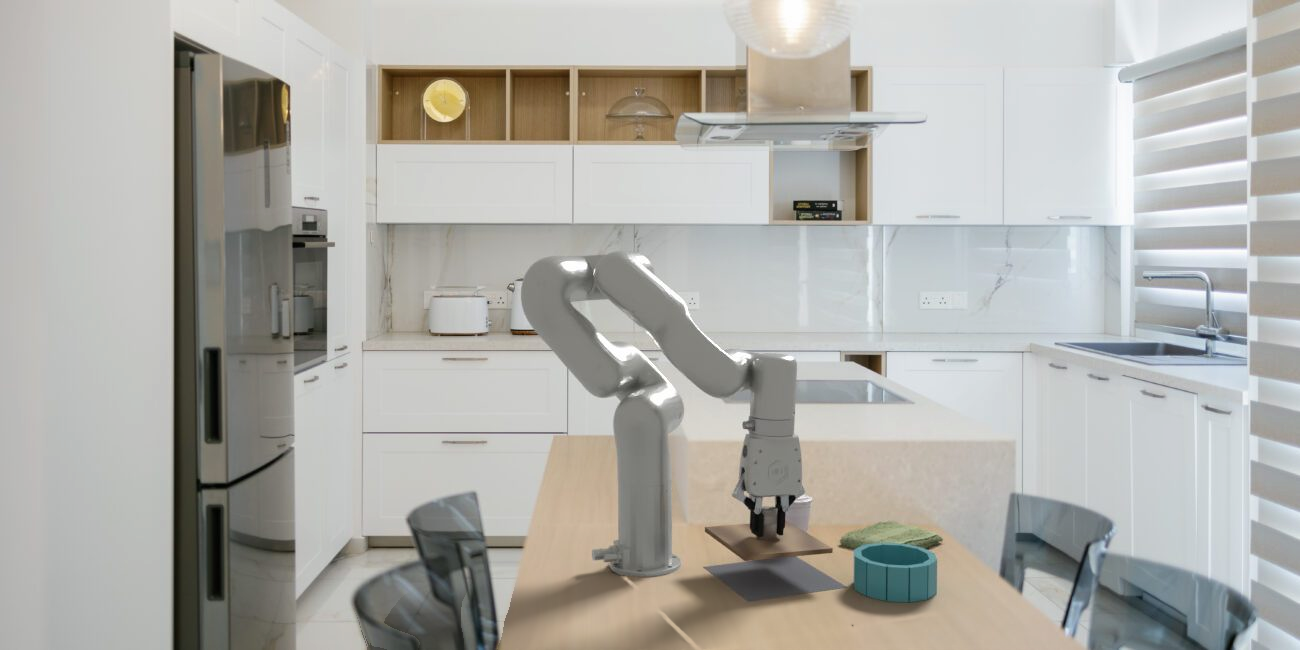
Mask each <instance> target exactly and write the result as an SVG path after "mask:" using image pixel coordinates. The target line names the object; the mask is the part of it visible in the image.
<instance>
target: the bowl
mask: <svg viewBox="0 0 1300 650" xmlns="http://www.w3.org/2000/svg"><path fill="white" fill-rule="evenodd" d="M852 576H853V579H852V580H853V588H854V589H853V590H855V591H856V592H858V593H860V594H862V595H863V596H864V597H868V598H872V599H876V600H880V601H883V602H886V601H887V602H896V603H914V602H915V603H916V602H920V601H922V602H923V601H926V600H929V599H931V598H932V597H933V596H935V595H937V593H938V591H937V590H938V557H937V555H936V554H935V553H934V552H933V551H932V550H928V549H926V548H925V549H924V548H921V547H917V546H912V545H907V544H901V543H874V544H866V545H862V546H860V547H858V548H856V549H854V548H853V575H852Z"/></svg>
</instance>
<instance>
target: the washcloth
mask: <svg viewBox="0 0 1300 650" xmlns="http://www.w3.org/2000/svg"><path fill="white" fill-rule="evenodd" d="M943 541H944V538H943V537H942V536H941V535H940V534H937V532H935V531H930V530H926V529H924V528H921V527H918V526H915V525H906V524H902V523H901V522H898V521H895V520H888V521H879V522H876V523H874V524H871V525H868V526H866V527H864V528H859V529H854V530H851V531H848V532H846V533H845V534H844V535H842V536H841V538H840V539H839V543H840V545H841V546H842V547H847V548H852V549H853V550H854V549H856V548H858V547H860V546H862V545H866V544H874V543H901V544H907V545H912V546H917V547H921V548H924V549H926V548H928V547H929V548H930V547H931V546H934V545H935V546H936V545H938V544H939V543H940V542H941V543H942V542H943Z"/></svg>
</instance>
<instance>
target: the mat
mask: <svg viewBox="0 0 1300 650" xmlns="http://www.w3.org/2000/svg"><path fill="white" fill-rule="evenodd" d="M703 568H704V570H706V571H708V572H709V573H710V574H711V575H712V576H714V577H716V578H717V579H718V580H719V581H721V582H722V583H723V584H725V585H726V586H727V587H728V588H729V589H731V590H732V591H734V592H735V593H736V594H738V595H739V596H741V598H743V599H744V600H745V601H747V602H749V603H750V602H755V601H763V600H769V599H770V600H772V599H779V598H785V597H791V596H797V595H803V594H812V593H818V592H826V591H831V590H837V589H839V590H840V589H847V588H848V586H846V585H845V584H844V583H842V582H839V581H838V580H836V579H835V578H833V577H831V576H829V575H828V574H826V573H824V572H822V571H821V570H820V569H818V568H816V567H814V566H813V565H812V564H809V563H807V562H806V561H804V560H803V559H801V558H799V556H794V557H783V558H772V559H761V560H750V561H740V562H731V563H724V564H716V565H709V566H703Z"/></svg>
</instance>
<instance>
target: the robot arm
mask: <svg viewBox="0 0 1300 650" xmlns="http://www.w3.org/2000/svg"><path fill="white" fill-rule="evenodd" d="M600 300H608V301H610V302H611V303H612V304H613V305H614V306H615V307H617V308H618V310H620V311H621V312H622V313H624V314H625V315H626V316H627V317H628V318H629V319H630V320H631V321H633V323H635V324H636V325H637V326H639V328H640V329H642V330H643V331H644V332H645V333H646V334H647V335H648V336H650V337H651V338H652V340H653V341H654V343H655V345H656V346H657V348H659V350H660V351H661V352H662V354H663V355H664V356H665V358H666V359H667V360H668V361H669V362H670V363H671V364H672V365H673V366H674V367H675V369H677V370H678V372H680V373H681V374H682V375H683V376H684V377H685V378H686V379H687V380H689V381H691V383H692V384H693V385H695V386H696V387H697V388H698V389H700V391H702V392H703V393H705V394H707V395H708V396H710V397H712V398H716V399H723V400H724V399H729V398H731V397H733V396H735V395H737V394H740V393H742V392H750V403H749V416H748V420H746V421H745V420H744V421H743V422H742V429H743V430H747V431H748V433H746V434H745V437H744V440H743V444H742V449H741V452H740V453H741V454H740V461H739V468H738V482H737V484H736V485H735V488H734V489H733V491H732V493H731V496H732V497H733V498H734V499H736V500H738V501H740V502H741V503H742V504H743V505H745V507H747V509H748V510H749V524H750V530H751V532H752V533H753V534H754V535H756V536H757V537H762V536H763V524H764V515H763V514H762V513H761V508H762V506H763V501H764V500H763V499H764V498H772V497H774V507H776V508H777V509H778V514H777V534H778V535H783V529H784V528H785V515H786V512H787V511H788V510H789V507H790V505H791V504H792V503H793V502H794V501H795V499H797V498H799V497H800V496H802V495H805V493H806V490H805V488H804V486H803V460H802V450H801V449H802V448H801V442H800V437H799V435H797V434H795V418H796V417H795V416H796V399H797V398H796V396H797V380H798V379H797V375H798V373H797V372H798V363H797V360H796V358H795V357H794V356H792V355H790V354H787V353H786V354H784V353H776V352H775V353H773V352H770V353H769V352H767V353H766V352H765V353H759V352H753V351H748V350H744V349H740V348H729V349H725V350H723V349H722V348H720V346H718V345H717V344H715V342H714V341H712V340H711V339H710V338H709V337H708V336H706V334H704V332H703V331H701V330H700V328H699V327H698V326H697V325H696V324H695V322H694V320H693V319H692V317H691V314H690V310H689V307H688V304H687V303H686V302H685V300H684V299H683V298H682V297H681V296H680V295H679V294H677V292H676V291H673V289H671V288H670V287H669V286H668V285H667V284H666V283H664V282H663V281H662V280H661V279H660V278H659V277H657V276H656V275H655V270H654V267H653V265H652V263H651V261H650V260H649V259H648V258H647V257H646V256H645V255H643V254H642V253H640V252H635V251H632V250H631V251H628V250H625V251H624V250H620V251H619V250H618V251H617V250H615V251H611V252H609V253H607V254H606V253H605V254H593V255H554V256H553V255H552V256H546V257H542V258H540V259H538V260H537V261H535V262H534V263H533V264H531V265H530V266H529V267H528V269H527V270H526V272H525V274H524V276H523V279H522V283H521V289H520V302H521V307H522V312H523V313H524V316H525V318H526V320H527V322H528V323H529V325H530V327H532V329H533V331H535V333H536V334H537V335H538V337H540V338H541V340H543V342H544V343H545V344H546V345H547V346H548V347H549V348H550V350H551V351H552V352H553V353H554V354H555V355H556V357H557V358H558V359H559V360H560V361H561V362H562V364H564V366H565V367H566V368H567V369H568V371H569V372H570V373H571V374H572V375H573V376H574V377H575V378H576V379H577V381H578V382H579V383H580V384H581V385H582V387H583V388H584V389H585V390H586V392H588V393H590V395H593V396H594V397H596V398H600V399H607V398H611V397H616V398H617V399H618V400H619V401H620V402H619V403H618V404H617V406H616V408H615V411H614V415H613V421H612V424H613V425H612V427H613V435H614V441H615V449H616V463H617V469H616V470H617V506H618V507H617V511H618V512H617V516H618V517H617V521H618V522H617V523H618V527H617V528H618V533H617V534H618V539H617V540H616V539H615V540H613V545H609V546H608V548H603V547H602V548H595V549H594V548H593V549H592V550H591V558H592V560H593V561H601V560H602V561H603V563H609V568H610V569H611V571H612V572H614V573H615V574H618V575H621V576H622V577H623V576H625V577H627V576H630V577H642V578H644V577H646V578H647V577H650V578H651V577H660V576H664V575H668V574H671V573H675V572H676V571H678V570H679V569H681V566H682V560H681V558H680V557H679V556H678V555H676V554H675V553H673V512H672V511H673V504H672V503H673V500H672V499H673V495H672V492H673V491H672V490H673V489H672V488H673V486H672V485H673V484H672V483H673V481H672V457H671V450H670V444H669V434H671V433H672V432H674V431H675V430H676V429H677V428H679V426H680V425H681V423H682V421H683V419H684V416H685V405H684V404H685V403H684V401H683V398H682V396H681V394H679V391H678V390H677V389H676V388H675V387H674V386H673V384H672V383H671V382H670V381H669V380H668V379H667V378H666V377H665V376H664V375H663V373H662V372H661V371H660V370H659V369H658V367H656V366H655V364H653V362H652V361H651V360H650V359H649V358H648V357H647V356H646V355H645V354H644V353H643V352H642V351H641V350H640V349H638V348H637V347H636V346H634V345H633V344H631V343H629V342H626V341H618V340H616V341H610V340H608V339H607V337H605V336H604V335H603V334H602V333H601V332H600V331H599V330H598V328H597V327H596V326H595V325H594V324H593V323H592V322H591V321H590V320H589V319H588V318H587V317H586V316H585V315H584V314H582V312H580V311H579V310H578V309H577V308H575V306H573V304H572V303H573V302H583V301H600ZM745 492H746V493H747V494H748V496H747V495H745Z"/></svg>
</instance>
